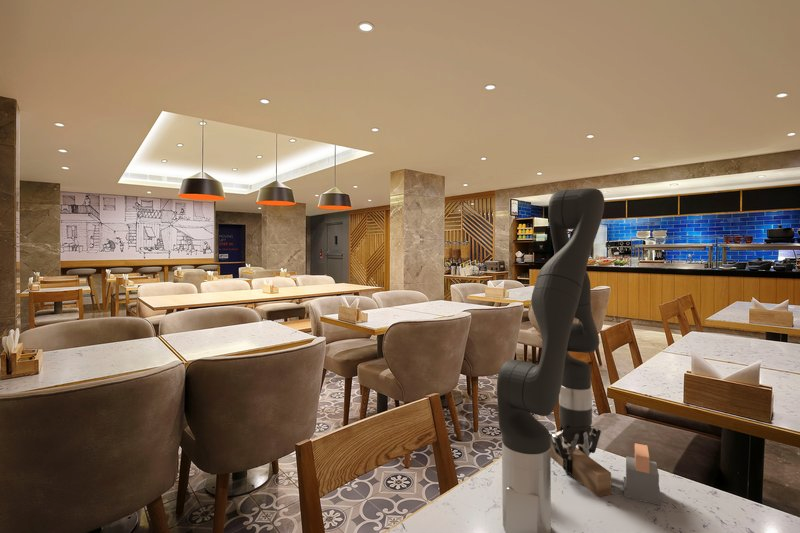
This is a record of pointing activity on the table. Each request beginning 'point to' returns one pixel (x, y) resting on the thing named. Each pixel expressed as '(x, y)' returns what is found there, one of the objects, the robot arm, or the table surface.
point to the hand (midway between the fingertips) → (575, 470)
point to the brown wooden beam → (587, 472)
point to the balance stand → (642, 477)
